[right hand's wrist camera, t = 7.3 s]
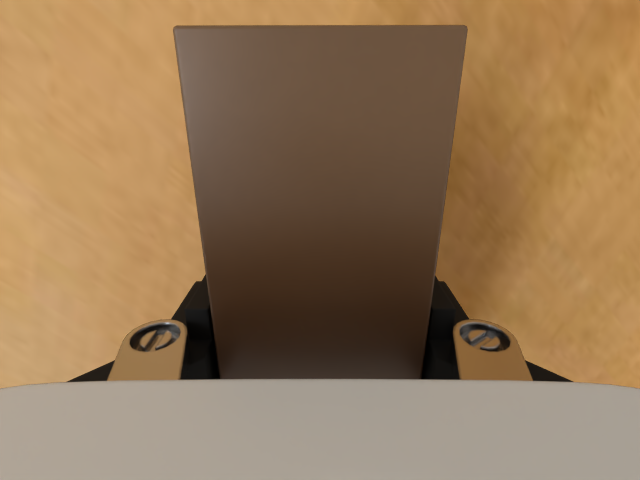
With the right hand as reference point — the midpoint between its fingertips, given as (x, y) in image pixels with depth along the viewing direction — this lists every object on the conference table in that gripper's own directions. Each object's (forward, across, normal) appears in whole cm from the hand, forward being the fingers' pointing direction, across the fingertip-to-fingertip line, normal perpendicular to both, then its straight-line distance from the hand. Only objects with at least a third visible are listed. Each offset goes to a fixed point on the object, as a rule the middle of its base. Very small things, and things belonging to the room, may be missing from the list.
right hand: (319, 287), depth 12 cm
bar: (+3, 0, +34) cm, 34 cm away
